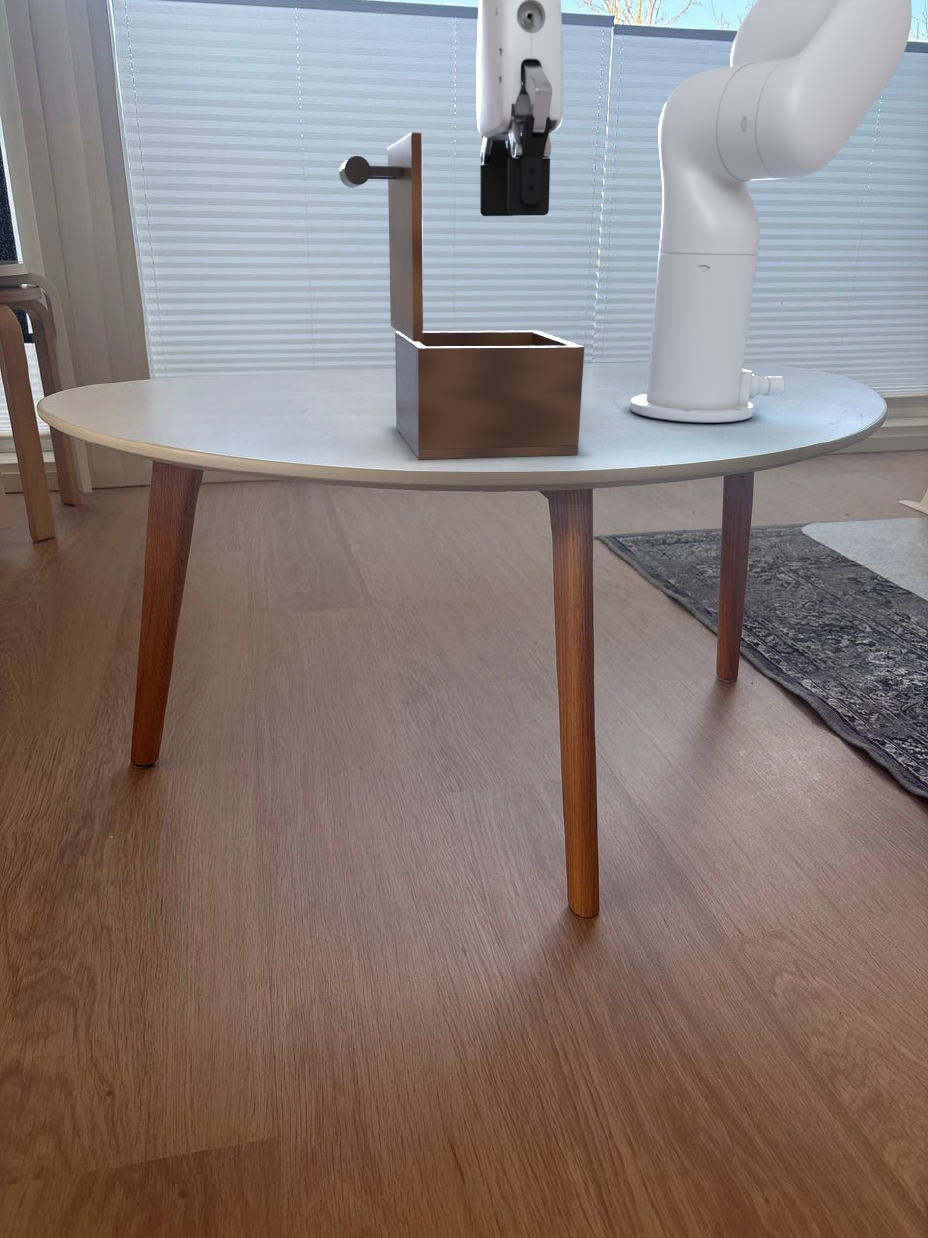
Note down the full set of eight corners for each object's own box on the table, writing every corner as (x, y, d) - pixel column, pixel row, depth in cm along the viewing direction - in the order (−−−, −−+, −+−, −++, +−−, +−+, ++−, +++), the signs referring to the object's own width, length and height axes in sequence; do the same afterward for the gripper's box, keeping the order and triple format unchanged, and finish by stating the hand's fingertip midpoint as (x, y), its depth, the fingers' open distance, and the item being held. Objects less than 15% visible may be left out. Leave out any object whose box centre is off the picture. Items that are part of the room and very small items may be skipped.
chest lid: (396, 148, 79) (334, 146, 78) (422, 132, 67) (348, 129, 66) (399, 326, 85) (340, 326, 84) (423, 341, 72) (355, 342, 71)
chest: (534, 424, 91) (538, 330, 87) (578, 454, 78) (584, 346, 75) (396, 428, 88) (395, 331, 85) (418, 459, 76) (418, 347, 72)
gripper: (601, -61, 63) (589, 214, 70) (533, -6, 79) (529, 215, 85) (493, -67, 62) (491, 215, 68) (446, -9, 77) (448, 216, 84)
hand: (512, 215), depth 77 cm, fingers open, 9 cm apart
